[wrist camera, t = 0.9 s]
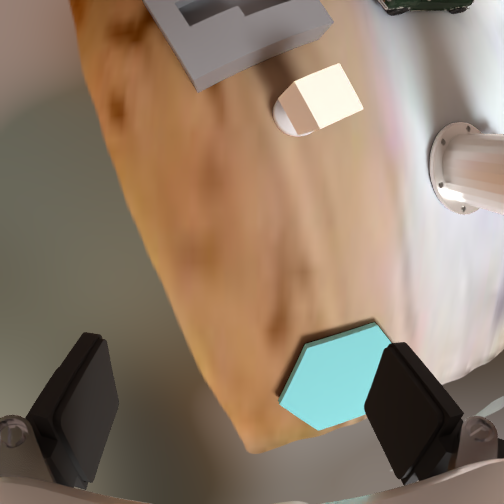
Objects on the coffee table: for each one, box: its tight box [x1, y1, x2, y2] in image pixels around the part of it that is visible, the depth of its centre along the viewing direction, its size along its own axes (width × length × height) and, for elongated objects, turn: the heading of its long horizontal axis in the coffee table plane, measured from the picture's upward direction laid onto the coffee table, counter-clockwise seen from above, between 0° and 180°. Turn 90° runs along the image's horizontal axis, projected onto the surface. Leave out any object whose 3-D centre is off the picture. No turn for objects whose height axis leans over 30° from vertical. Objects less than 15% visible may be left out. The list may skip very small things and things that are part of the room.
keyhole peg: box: [273, 63, 364, 137], centre depth 26 cm, size 5×5×12 cm
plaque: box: [278, 322, 391, 430], centre depth 42 cm, size 18×2×20 cm
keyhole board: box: [142, 0, 334, 93], centre depth 25 cm, size 15×14×6 cm
